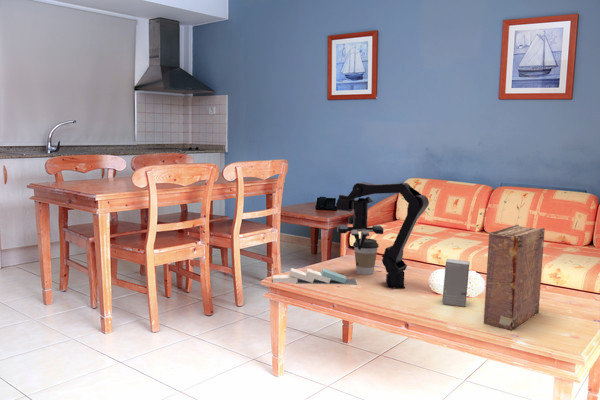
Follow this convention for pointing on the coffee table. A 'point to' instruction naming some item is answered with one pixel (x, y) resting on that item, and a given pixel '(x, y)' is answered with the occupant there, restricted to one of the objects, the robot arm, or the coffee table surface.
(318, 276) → the ivory domino
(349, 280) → the mat
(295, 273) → the ivory domino
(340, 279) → the teal domino
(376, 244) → the coffee cup
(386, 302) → the coffee table surface
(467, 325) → the coffee table surface
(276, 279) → the ivory end domino
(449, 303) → the skincare box
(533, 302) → the book
